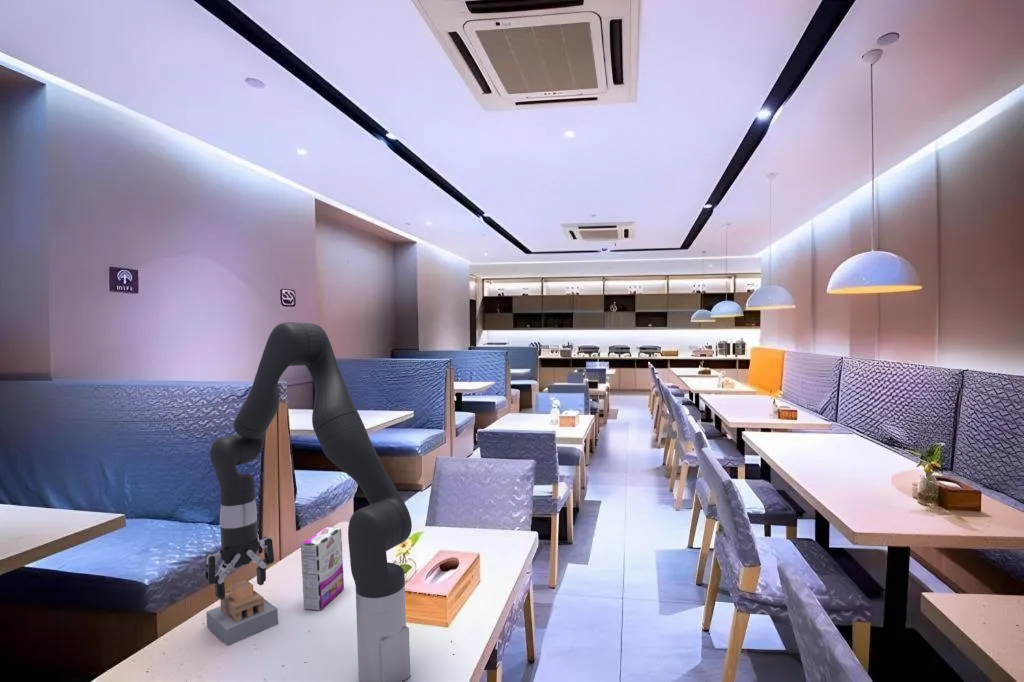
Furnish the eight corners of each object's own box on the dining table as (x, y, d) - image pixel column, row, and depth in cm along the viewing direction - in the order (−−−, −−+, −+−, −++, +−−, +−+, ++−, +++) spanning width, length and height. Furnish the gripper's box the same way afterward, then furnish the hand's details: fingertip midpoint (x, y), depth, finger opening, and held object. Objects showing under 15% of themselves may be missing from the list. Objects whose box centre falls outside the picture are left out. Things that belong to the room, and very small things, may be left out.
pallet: (264, 611, 119) (263, 597, 119) (236, 622, 114) (235, 608, 114) (247, 598, 125) (247, 585, 125) (220, 609, 120) (220, 595, 120)
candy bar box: (327, 588, 137) (325, 526, 137) (344, 589, 136) (342, 526, 136) (301, 610, 126) (299, 542, 126) (320, 611, 125) (318, 543, 125)
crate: (253, 596, 120) (253, 584, 120) (237, 602, 117) (236, 590, 117) (246, 590, 122) (245, 579, 122) (230, 596, 120) (229, 585, 120)
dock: (278, 623, 120) (277, 608, 120) (227, 645, 112) (226, 629, 112) (256, 607, 128) (255, 592, 128) (207, 626, 120) (206, 611, 120)
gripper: (211, 534, 112) (214, 609, 112) (277, 515, 122) (279, 584, 123) (198, 526, 117) (201, 598, 117) (263, 509, 127) (265, 575, 127)
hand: (241, 591), depth 120 cm, fingers open, 8 cm apart
